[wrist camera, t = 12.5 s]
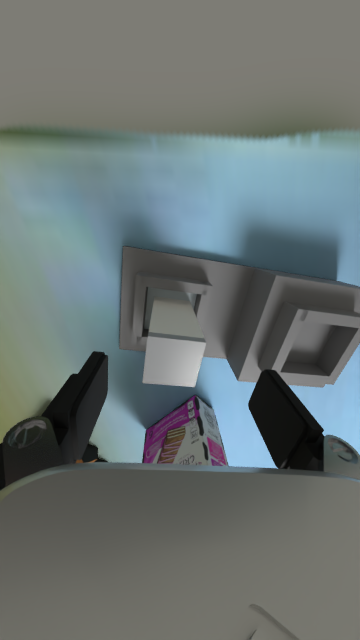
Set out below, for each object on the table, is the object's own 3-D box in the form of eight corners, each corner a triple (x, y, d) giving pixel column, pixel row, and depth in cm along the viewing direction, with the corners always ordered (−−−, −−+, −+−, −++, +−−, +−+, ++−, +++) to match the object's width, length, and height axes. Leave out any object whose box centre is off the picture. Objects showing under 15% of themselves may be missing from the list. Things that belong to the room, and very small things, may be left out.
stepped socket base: (337, 280, 22) (405, 298, 16) (296, 362, 27) (337, 400, 21) (124, 245, 19) (104, 250, 13) (120, 345, 24) (104, 385, 17)
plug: (190, 301, 21) (206, 342, 13) (183, 332, 22) (194, 387, 14) (154, 296, 20) (147, 336, 12) (150, 328, 22) (142, 383, 14)
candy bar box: (194, 392, 28) (227, 569, 13) (214, 408, 30) (264, 581, 15) (142, 429, 31) (122, 614, 16) (164, 442, 32) (163, 619, 17)
